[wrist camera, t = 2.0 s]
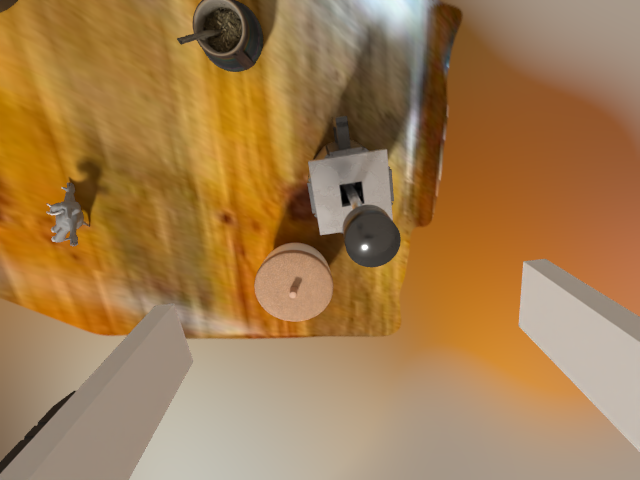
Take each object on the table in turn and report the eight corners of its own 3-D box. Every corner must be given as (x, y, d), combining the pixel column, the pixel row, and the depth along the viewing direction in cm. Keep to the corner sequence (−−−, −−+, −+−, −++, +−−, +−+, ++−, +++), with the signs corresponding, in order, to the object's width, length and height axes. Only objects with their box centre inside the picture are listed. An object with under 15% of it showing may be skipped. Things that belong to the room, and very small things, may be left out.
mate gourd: (279, 50, 41) (266, 33, 32) (233, 88, 43) (208, 82, 33) (242, -7, 39) (217, -44, 30) (195, 35, 40) (157, 13, 31)
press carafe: (301, 122, 44) (295, 124, 32) (369, 110, 44) (389, 109, 31) (316, 209, 48) (315, 240, 36) (378, 199, 48) (398, 228, 36)
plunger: (321, 165, 38) (324, 207, 21) (369, 158, 37) (413, 194, 20) (328, 212, 40) (336, 285, 22) (374, 205, 39) (417, 274, 22)
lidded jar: (273, 299, 54) (264, 335, 45) (254, 240, 50) (241, 266, 41) (337, 287, 53) (340, 321, 44) (323, 226, 49) (324, 250, 41)
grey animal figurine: (31, 202, 48) (48, 168, 43) (80, 208, 53) (100, 178, 48) (32, 265, 45) (51, 236, 40) (84, 266, 49) (106, 239, 44)
